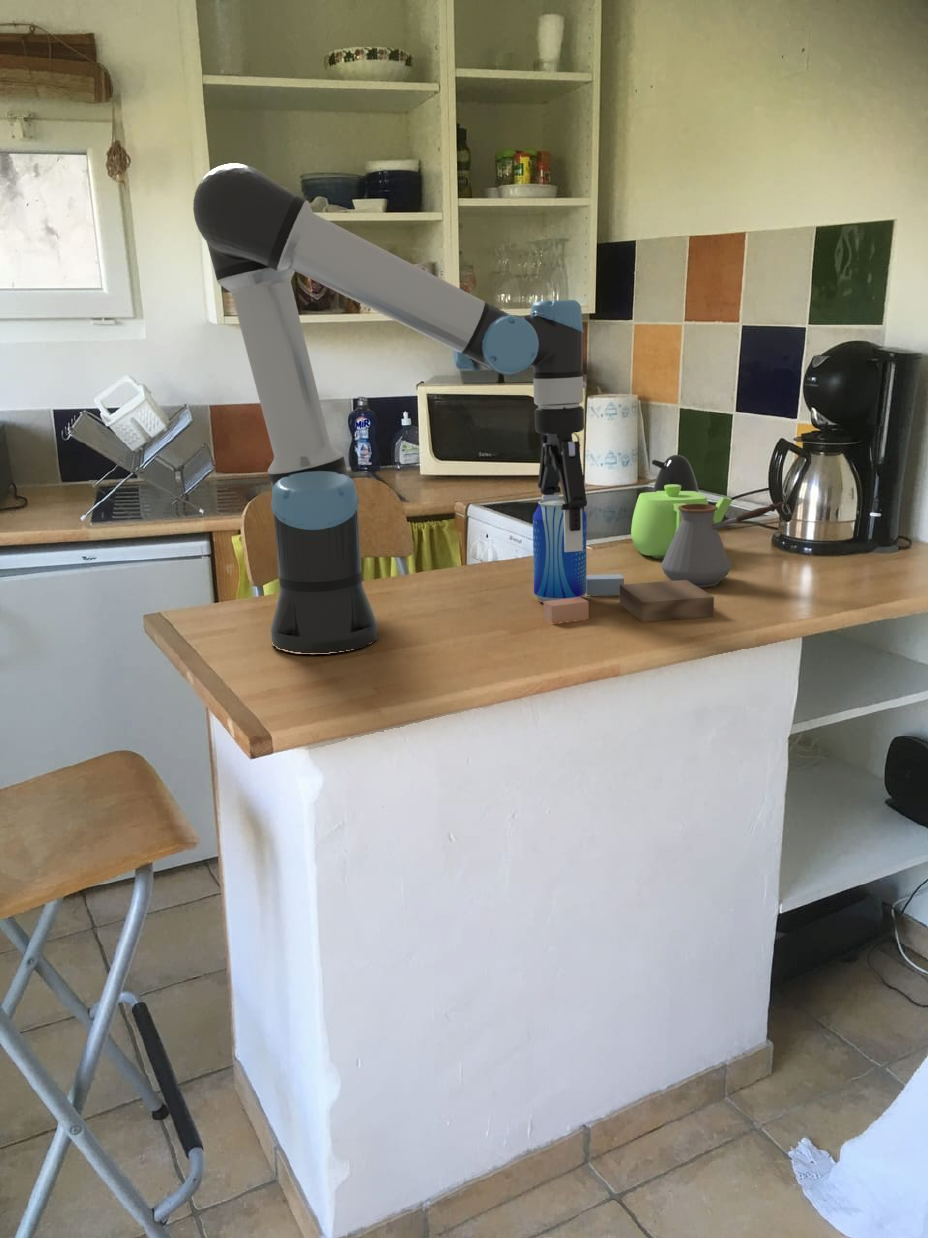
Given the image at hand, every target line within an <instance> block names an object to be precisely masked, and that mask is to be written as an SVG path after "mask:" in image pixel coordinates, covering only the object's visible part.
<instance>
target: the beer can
mask: <svg viewBox="0 0 928 1238" xmlns="http://www.w3.org/2000/svg"><path fill="white" fill-rule="evenodd" d="M562 504H565V501H564V497H559V498H550V499H544V500H542V499H541V500H539V501H538V506H537V508H536V509H535V512H534V513H533V516H532V547H533V548H532V554H533V555H532V557H533V558H532V561H533V565H532V566H533V594H534V595H535V596H536V598H537V600H538V601H539V600H540V601H542V602H544V601H550V600H558V599H566V598H574V597H581V598H583V597H584V596H585V595H586V575H587V514H586V512H585V510H584V508H583V509H582V525H583V551H574V552H565V551H564V510H561V507H562Z"/></svg>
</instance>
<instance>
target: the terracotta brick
mask: <svg viewBox="0 0 928 1238" xmlns="http://www.w3.org/2000/svg"><path fill="white" fill-rule="evenodd" d="M589 610H590V609H589V601H588V600H587V599H585V598H583V597H582V598H581V597H574V598H566V599H558V600H550V601H544V604H543V620H544V619H546V620H547V621H549V622H550V623H559V622H566V621H574V620H582V621H585V620H584V619H588V620H589V612H590V611H589ZM546 620H545V621H546ZM547 621H546V622H547ZM549 622H548V623H549ZM574 622H575V621H574ZM550 623H549V624H550ZM559 624H560V623H559Z"/></svg>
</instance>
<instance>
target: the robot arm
mask: <svg viewBox="0 0 928 1238" xmlns="http://www.w3.org/2000/svg"><path fill="white" fill-rule="evenodd" d="M192 205H193V206H192V208H193V209H192V210H193V216H194V220H195V225H196V227H197V230H198V231H199V232H200V235H201V236H202V238H203V239H204V240H205V241H206V245H207V248H208V252H209V256H210V260H211V264H212V266H213V270H214V271H213V272H214V275H215V279H216V282H217V284H218V285H219V286H221V287H223V289H225V290H226V291H228V292H229V293H230V294H231V296H232V300H233V304H234V310H235V312H236V316H237V321H238V323H239V327H240V331H241V335H242V338H243V343H244V346H245V350H246V354H247V358H248V361H249V365H250V370H251V373H252V377H253V381H254V384H255V388H256V392H257V393H256V394H257V396H258V399H259V400H258V401H259V403H260V407H261V410H262V415H263V419H264V422H265V427H266V430H267V433H268V434H267V435H268V438H269V442H270V446H271V449H272V450H271V451H272V453H273V460H272V462H271V464H270V465H269V467H268V469H267V474H268V478H269V482H270V485H271V486H270V487H271V490H272V491H271V492H272V494H271V496H272V498H271V502H270V503H271V504H270V505H271V511H272V512H273V522H274V532H275V533H274V535H275V546H276V555H277V556H276V557H277V568H278V569H277V570H278V580H279V592H278V593H279V594H278V598H277V602H276V606H275V611H274V614H273V619H272V623H271V627H270V628H271V629H270V634H271V635H270V637H271V643H272V642H273V644H274V645H275V646H277V647H278V648H280V649H285V650H288V651H293V652H301V653H329V652H339V651H346V650H351V649H357V650H359V649H358V648H360V649H362V648H361V647H363V646H365V647H367V646H366V645H368V644H369V643H371V642H373V641H374V640H375V639H376V638H377V639H378V637H377V634H379V633H378V622H377V618H376V616H375V614H374V611H373V609H372V606H371V602H370V601H369V599H368V596H367V594H366V592H365V589H364V585H363V576H362V558H361V540H360V524H359V511H358V510H359V509H358V508H359V502H360V501H359V500H360V499H359V495H358V492H357V486H356V483H355V482H354V480H353V479H352V478H351V477H349V473H348V469H347V464H346V461H345V457H344V453H343V452H342V451H340V450H339V449H337V448H335V447H333V446H332V444H331V442H330V437H329V433H328V429H327V425H326V421H325V415H324V413H323V409H322V405H321V400H320V396H319V392H318V388H317V384H316V380H315V376H314V371H313V368H312V363H311V359H310V356H309V351H308V347H307V343H306V339H305V336H304V332H303V327H302V323H301V318H300V313H299V310H298V306H297V301H296V297H295V293H294V291H293V285H292V278H293V277H294V274H295V273H298V274H300V275H302V276H304V277H306V278H308V279H310V280H313V281H314V282H316V283H318V284H321V286H325V287H326V288H328V289H331V290H333V291H335V292H337V293H339V294H341V295H342V296H344V297H347V298H348V299H351V300H353V301H354V302H357V303H358V304H361V305H363V306H365V307H367V308H369V309H371V310H373V311H375V312H377V313H379V314H381V315H383V316H385V317H387V318H389V319H391V320H393V321H395V322H397V323H400V324H401V325H404V326H405V327H407V328H409V329H411V330H414V331H415V332H418V333H419V334H421V335H423V336H425V337H427V338H430V339H432V340H433V341H436V342H437V343H440V344H442V345H444V346H445V347H448V348H449V349H452V354H453V362H454V365H455V367H456V368H457V370H459V371H460V372H461V371H462V372H464V371H466V372H467V371H468V372H469V371H470V372H471V371H473V372H480V371H492V372H493V371H494V372H497V373H499V374H500V375H504V376H505V375H506V376H511V375H515V374H518V373H521V372H523V371H525V370H526V369H528V368H532V369H533V379H532V380H533V382H532V383H533V403H534V404H535V406H537V407H536V408H535V410H534V430H535V432H536V433H538V434H540V435H541V437H540V438H541V439H540V440H541V452H540V462H539V471H538V479H537V480H538V482H537V487H538V489H540V492H541V493H540V494H541V500H544V499H550V498H560V494H561V493H562V495H563V497H562V498H564V501H565V504H562V507H561V510H564V551H565V552H574V551H583V525H582V509H583V510H584V507H587V505H588V500H587V495H586V487H585V480H584V472H583V468H582V466H583V465H582V460H581V444H580V441H579V440H577V441H574V440H573V434H574V433H580V432H582V431H583V430H584V428H585V408H584V407H583V406H582V405H580V404H582V403H583V402H584V389H586V388H587V385H588V384H587V382H585V381H584V371H583V369H584V367H583V366H584V365H583V364H584V361H583V359H584V357H583V356H584V353H583V352H584V343H583V342H584V332H585V331H584V327H583V312H582V306H581V304H580V303H579V301H577V300H575V299H558V300H540V301H534V302H533V303H532V305H531V311H530V314H526V315H521V316H519V315H516V314H509V313H507V312H506V311H503V310H502V309H499V308H498V307H496V306H494V305H492V304H489V303H487V302H485V300H483V299H480V298H478V297H477V296H475V295H473V294H471V293H469V292H467V291H465V290H464V289H461V288H459V287H457V286H456V285H453V284H452V283H450V282H447V281H446V280H444V279H441V278H440V277H439V276H436V275H434V274H432V273H430V272H428V271H426V270H424V269H422V268H420V267H419V266H417V265H415V264H413V263H411V262H409V261H408V260H405V259H403V258H401V257H399V256H397V255H395V254H393V253H391V252H389V251H388V250H385V249H383V248H382V247H379V246H378V245H376V244H374V243H372V242H370V241H369V240H366V239H364V238H362V237H361V236H358V235H356V234H354V233H352V232H350V231H348V230H347V229H345V228H343V227H342V226H339V225H338V224H336V223H333V222H331V221H329V220H328V219H325V218H323V217H321V216H319V215H318V214H316V213H314V212H313V209H312V207H311V204H310V201H309V200H307V199H305V198H303V197H301V196H299V195H297V194H295V193H293V192H292V191H290V190H288V189H287V188H285V187H283V186H282V185H280V184H279V183H278V182H277V181H275V180H273V179H272V178H270V177H269V176H267V175H266V173H263V172H262V171H260V170H258V169H257V168H255V167H253V166H249V165H247V164H244V163H243V164H242V163H227V164H222V165H219V166H217V167H214V168H213V169H211V170H210V171H209V172H208V173H206V174H205V175H204V176H203V178H202V179H201V180H200V181H199V183H198V185H197V187H196V189H195V193H194V197H193V204H192ZM559 484H560V486H559ZM377 639H376V640H377ZM376 640H375V641H376ZM375 641H374V642H375ZM374 642H373V643H374ZM371 644H372V643H371ZM368 646H369V645H368ZM363 648H364V647H363Z"/></svg>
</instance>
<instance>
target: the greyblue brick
mask: <svg viewBox="0 0 928 1238" xmlns="http://www.w3.org/2000/svg"><path fill="white" fill-rule="evenodd" d="M622 584H625V577H624V576H623V575H622V573H616V574H586V594H587V595H618V596H620V585H622ZM586 594H585V595H586Z"/></svg>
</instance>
